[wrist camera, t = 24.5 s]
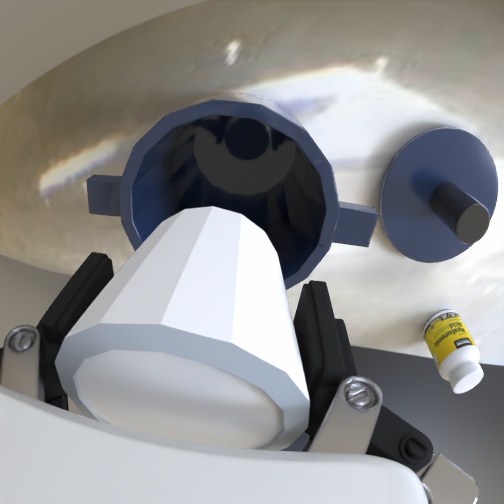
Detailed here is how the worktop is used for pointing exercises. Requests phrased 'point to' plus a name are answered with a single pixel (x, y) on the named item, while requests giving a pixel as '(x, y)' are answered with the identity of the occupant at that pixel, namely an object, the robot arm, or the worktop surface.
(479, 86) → the worktop surface
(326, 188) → the pot
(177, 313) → the white cup
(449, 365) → the supplement bottle
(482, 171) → the pot lid
